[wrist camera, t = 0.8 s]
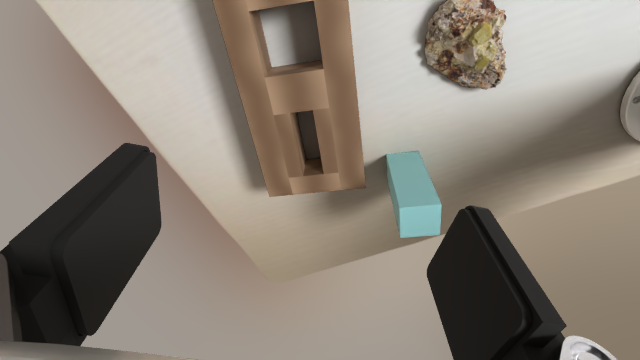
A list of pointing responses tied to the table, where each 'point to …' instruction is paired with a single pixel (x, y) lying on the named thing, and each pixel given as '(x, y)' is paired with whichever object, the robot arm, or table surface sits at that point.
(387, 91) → the table surface
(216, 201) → the table surface
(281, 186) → the bore board
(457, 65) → the mineral rock
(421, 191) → the square peg
